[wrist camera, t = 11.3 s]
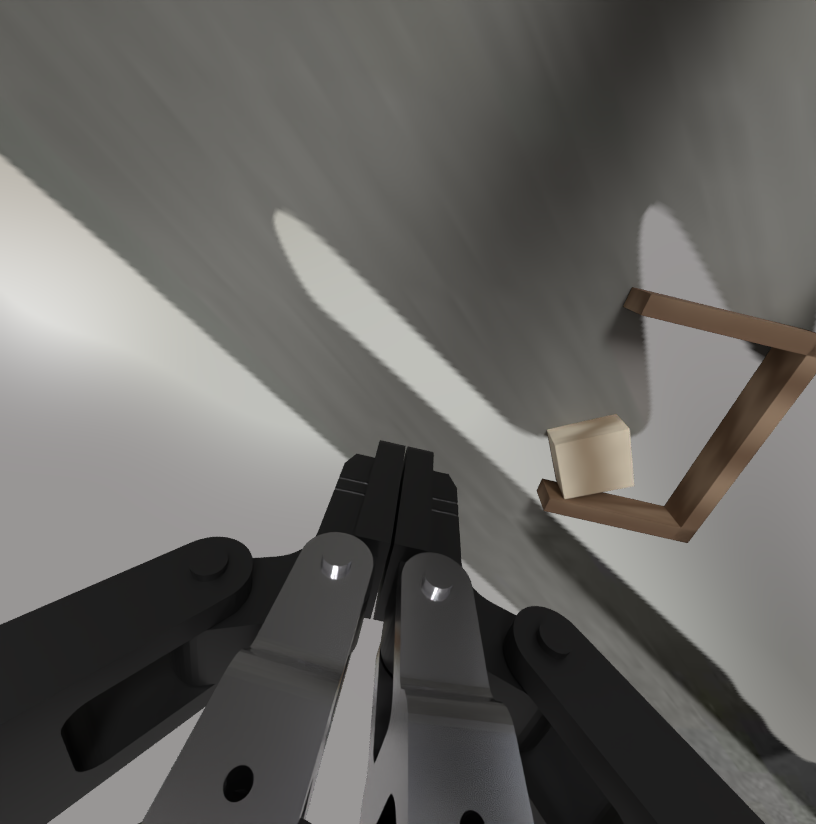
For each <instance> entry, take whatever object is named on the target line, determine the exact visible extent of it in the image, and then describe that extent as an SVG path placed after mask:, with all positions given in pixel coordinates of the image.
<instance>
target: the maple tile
mask: <svg viewBox="0 0 816 824" xmlns="http://www.w3.org/2000/svg"><path fill="white" fill-rule="evenodd" d="M547 433H548V440H549V446H550V451H551V457H552V462H553V467H554V472H555V478H556V481H557V483H558V486H559V488H560V490H561V492H562V495H563V497H564V499H568V498H574V497H579V496H584V495H589V494H595V493H600V492H605V491H611V490H615V489H621V488H626V487H631V486H634V477H633V465H632V452H631V440H630V429H629V428H628V427H627V425H626V424H625V423H624V422H623V421H622V420H621V419H620V418H619V417H618V415H617V414H614V415H610V416H605V417H601V418H596V419H592V420H587V421H583V422H579V423H574V424H570V425H565V426H561V427H556V428H552V429H548V430H547Z"/></svg>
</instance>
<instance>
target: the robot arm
mask: <svg viewBox="0 0 816 824" xmlns="http://www.w3.org/2000/svg"><path fill="white" fill-rule="evenodd" d="M404 454H405V457H404ZM433 457H434V453H433V452H430V451H426V450H421V449H417V448H413V447H407V450H406V453H405V446H403V445H399V444H394V443H390V442H386V441H381V440H380V442H379V445H378V449H377V453H376V456H375V458H373V457H369V456H365V455H360V454H356V455H354V456H353V457H352V458H351V459H349V460H348V461H347V462H345V464H344V466H343V469H342V472H341V474H340V477H339V479H338V482H337V484H336V487H335V490H334V492H333V495H332V497H331V500H330V502H329V505H328V508H327V510H326V513H325V515H324V518H323V520H322V523H321V526H320V529H319V531H318V533H317V535H316V537H314V538H313V539H311V540H310V541H309V542H308V543H307V544H306V545H305V546H304V548H303V549H301V550H299V551H297V552H295V553H292V554H289V555H284V556H277V557H264V558H252V555H251V553H250V551H249V549H248V548H247V547H246V546H245V545H244V544H242V543H241V542H239V541H237V540H235V539H231V538H227V537H209V538H204V539H200V540H197V541H194V542H192V543H189V544H187V545H184V546H182V547H180V548H177V549H175V550H173V551H170V552H168V553H166V554H163V555H161V556H159V557H157V558H154V559H152V560H150V561H147V562H145V563H143V564H140V565H138V566H136V567H133V568H131V569H129V570H126V571H124V572H122V573H119V574H117V575H115V576H112V577H110V578H108V579H106V580H103V581H101V582H99V583H96V584H94V585H92V586H89V587H87V588H85V589H82V590H80V591H78V592H75V593H73V594H71V595H68V596H66V597H64V598H61V599H59V600H57V601H55V602H52V603H50V604H48V605H45V606H43V607H41V608H38V609H36V610H34V611H31V612H29V613H27V614H24V615H22V616H20V617H17V618H15V619H13V620H10V621H8V622H6V623H3V624H1V625H0V824H47V823H48V822H49V821H51V820H52V819H54V818H55V817H56V816H58V815H59V814H60V813H62V812H63V811H64V810H66V809H67V808H68V807H70V806H71V805H72V804H74V803H75V802H77V801H78V800H79V799H81V798H82V797H83V796H85V795H86V794H87V793H89V792H90V791H91V790H93V789H94V788H96V787H97V786H98V785H100V784H101V783H102V782H104V781H105V780H106V779H108V778H109V777H111V776H112V775H113V774H115V773H116V772H117V771H119V770H120V769H121V768H123V767H124V766H125V765H127V764H128V763H130V762H131V761H132V760H134V759H135V758H136V757H137V756H139V755H140V754H142V753H143V752H144V751H146V750H147V749H149V748H150V747H151V746H153V745H154V744H155V743H157V742H158V741H159V740H161V739H162V738H163V737H165V736H166V735H167V734H169V733H170V732H172V731H173V730H174V729H175V728H177V727H178V726H180V725H181V724H182V723H184V722H185V721H186V720H188V719H189V718H191V717H192V716H193V715H195V714H196V713H197V712H199V711H200V710H201V709H203V708H204V707H205V706H206V707H205V709H204V711H203V713H202V714H201V716H200V718H199V720H198V721H197V723H196V725H195V727H194V729H193V730H192V732H191V734H190V736H189V738H188V739H187V741H186V743H185V745H184V747H183V749H182V750H181V752H180V754H179V756H178V758H177V760H176V761H175V763H174V765H173V767H172V768H171V770H170V772H169V774H168V776H167V777H166V779H165V781H164V783H163V785H162V787H161V788H160V790H159V792H158V794H157V796H156V797H155V799H154V801H153V803H152V805H151V806H150V808H149V810H148V812H147V814H146V815H145V817H144V819H143V821H142V822H141V823H139V824H311V823H310V822H308V821H306V820H305V819H306V815H307V811H308V807H309V804H310V801H311V797H312V793H313V790H314V786H315V782H316V778H317V775H318V770H319V767H320V764H321V760H322V756H323V753H324V749H325V745H326V742H327V738H328V735H329V731H330V728H331V724H332V721H333V717H334V714H335V710H336V706H337V703H338V699H339V696H340V692H341V689H342V685H343V682H344V678H345V674H346V671H347V667H348V664H349V660H350V656H351V653H352V652H353V650H354V649H355V647H356V645H357V642H358V638H359V634H360V630H361V626H362V623H363V619H364V618H369V619H370V618H371V615H372V611H373V607H374V604H375V600H376V596H377V593H378V596H377V601H376V607H375V613H374V620H379V621H383V622H384V624H383V630H382V637H381V643H380V646H379V649H378V653H377V657H376V664H375V665H376V666H375V679H374V692H373V707H372V720H371V733H370V747H369V748H370V749H369V761H368V771H367V778H366V785H365V790H364V795H363V801H362V808H361V817H360V824H765V823H764V822H763V821H762V820H761V819H760V818H759V817H758V816H757V815H756V814H755V813H754V812H753V811H752V810H751V809H750V808H749V806H748V805H747V804H746V803H745V802H744V801H743V800H742V799H741V798H740V797H739V796H738V795H737V794H736V793H735V792H734V791H733V790H732V789H731V788H730V787H729V786H728V785H727V784H726V783H725V782H724V781H723V779H722V778H721V777H720V776H719V775H718V774H717V773H716V772H715V771H714V770H713V769H712V768H711V767H710V766H709V765H708V764H707V763H706V762H705V761H704V760H703V759H702V758H701V757H700V756H699V755H698V754H697V752H696V751H695V750H694V749H693V748H692V747H691V746H690V745H689V744H688V743H687V742H686V741H685V740H684V739H683V738H682V737H681V736H680V735H679V734H678V733H677V732H676V731H675V730H674V729H673V728H672V727H671V725H670V724H669V723H668V722H667V721H666V720H665V719H664V718H663V717H662V716H661V715H660V714H659V713H658V712H657V711H656V710H655V709H654V708H653V707H652V706H651V705H650V704H649V703H648V702H647V701H646V700H645V698H644V697H643V696H642V695H641V694H640V693H639V692H638V691H637V690H636V689H635V688H634V687H633V686H632V685H631V684H630V683H629V682H628V681H627V680H626V679H625V678H624V677H623V676H622V675H621V674H620V673H619V671H618V670H617V669H616V668H615V667H614V666H613V665H612V664H611V663H610V662H609V661H608V660H607V659H606V658H605V657H604V656H603V655H602V654H601V653H600V652H599V651H598V650H597V649H596V648H595V647H594V646H593V644H592V643H591V642H590V641H589V640H588V639H587V638H586V637H585V636H584V635H583V634H582V633H581V632H580V631H579V630H578V629H577V628H576V627H575V626H574V625H573V624H572V623H571V622H570V621H569V620H567V619H566V618H565V617H564V616H562V615H560V614H559V613H557V612H555V611H553V610H551V609H548V608H545V607H539V606H531V607H527V608H525V609H522V610H521V611H520V612H519V613H518V614H517V616H516V615H514V614H512V613H510V612H509V611H507V610H505V609H503V608H501V607H499V606H497V605H495V604H493V603H492V602H490V601H488V600H486V599H485V598H484V597H482V596H481V595H480V594H479V593H478V592H477V591H476V590H475V589H474V588H473V587H472V584H471V581H470V578H469V576H468V575H467V573H466V571H465V570H464V569H463V568H462V563H461V548H460V532H459V517H458V505H457V503H458V499H457V488H456V486H455V484H454V483H453V481H452V479H451V478H450V476H449V474H445V473H441V472H436V471H433ZM403 460H404V461H403Z"/></svg>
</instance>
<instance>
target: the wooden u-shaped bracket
mask: <svg viewBox="0 0 816 824" xmlns="http://www.w3.org/2000/svg"><path fill="white" fill-rule="evenodd" d="M623 307H625V308H627V309H629V310H631V311H633V312H635V313H638V314H640V315H642V316H647V317H651V318H655V319H659V320H663V321H667V322H672V323H675V324H680V325H684V326H688V327H692V328H696V329H700V330H704V331H708V332H712V333H717V334H721V335H725V336H729V337H733V338H737V339H741V340H745V341H749V342H754V343H758V344H762V345H766V346H770V347H772V348H771V349H770V351H769V352H768V354H767V355H766V357H765V358H764V360H763V361H762V363H761V364H760V366H759V367H758V369H757V370H756V372H755V373H754V374H753V376H752V377H751V379H750V380H749V382H748V383H747V385H746V386H745V388H744V389H743V391H742V392H741V394H740V395H739V397H738V398H737V400H736V401H735V403H734V404H733V405H732V407H731V408H730V410H729V411H728V413H727V415H726V416H725V417H724V419H723V420H722V422H721V423H720V425H719V426H718V428H717V429H716V431H715V432H714V433H713V435H712V437H711V438H710V439H709V441H708V442H707V444H706V445H705V447H704V448H703V450H702V451H701V453H700V454H699V456H698V457H697V459H696V460H695V462H694V463H693V464H692V466H691V467H690V469H689V470H688V472H687V473H686V475H685V476H684V478H683V479H682V481H681V482H680V484H679V485H678V487H677V488H676V490H675V491H674V493H673V494H672V495H671V497H670V498H669V500H668V501H667V503H666V504H665V506H660V505H656V504H652V503H647V502H643V501H639V500H634V499H630V498H625V497H621V496H616V495H612V494H607V493H603V492H600V493H595V494H589V495H584V496H579V497H574V498H568V499H564V497H563V495H562V492H561V490H560V488H559V486H558V483H557V482H555V481H550V480H546V479H542V480H541V482H540V484H539V487H538V489H537V493H538V496H539V498H540V501H541V504H542V507H543V510H544V511H547V512H551V513H556V514H560V515H565V516H569V517H574V518H578V519H582V520H587V521H591V522H596V523H600V524H605V525H610V526H614V527H618V528H623V529H627V530H632V531H636V532H640V533H645V534H650V535H654V536H658V537H663V538H667V539H672V540H676V541H680V542H685V543H688V542H689V541H690V539H691V538H692V537H693V535H694V534H695V533H696V531H697V530H698V529H699V528H700V526H701V525H702V524H703V522H704V521H705V519H706V518H707V517H708V516H709V514H710V513H711V512H712V510H713V509H714V508H715V506H716V505H717V504H718V502H719V501H720V500H721V499H722V497H723V496H724V495H725V493H726V492H727V491H728V489H729V488H730V487H731V485H732V484H733V482H734V481H735V480H736V479H737V477H738V476H739V475H740V473H741V472H742V471H743V469H744V468H745V467H746V465H747V464H748V463H749V462H750V460H751V459H752V458H753V456H754V455H755V454H756V452H757V451H758V450H759V448H760V447H761V446H762V444H763V443H764V442H765V440H766V439H767V438H768V436H769V435H770V434H771V433H772V431H773V430H774V429H775V427H776V426H777V425H778V423H779V421H781V419H782V418H783V417H784V415H785V414H786V413H787V411H788V410H789V409H790V407H791V406H792V405H793V403H794V402H795V401H796V400H797V398H798V397H799V395H800V394H801V393H802V392H803V390H804V389H805V388H806V386H807V385H808V383H809V382H810V381H811V380H812V378H813V377H814V376H815V374H816V333H815V332H812V331H809V330H805V329H801V328H797V327H793V326H789V325H785V324H781V323H777V322H773V321H769V320H764V319H760V318H756V317H752V316H748V315H744V314H740V313H736V312H732V311H728V310H724V309H719V308H715V307H711V306H707V305H703V304H699V303H695V302H691V301H687V300H683V299H679V298H675V297H670V296H667V295H663V294H658V293H654V292H650V291H646V290H642V289H638V288H634V287H632V289H631V291H630V293H629V295H628V297H627V299H626V302H625V304H624V306H623Z"/></svg>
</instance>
